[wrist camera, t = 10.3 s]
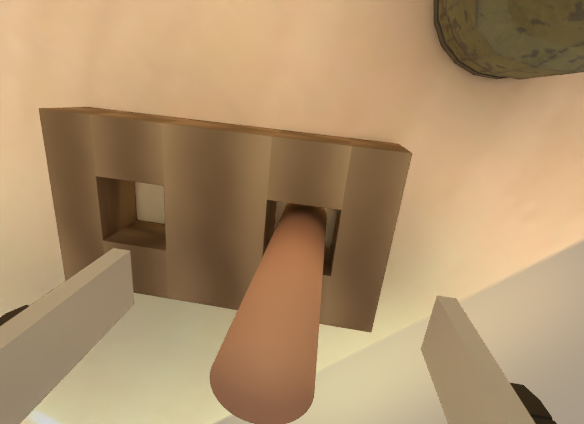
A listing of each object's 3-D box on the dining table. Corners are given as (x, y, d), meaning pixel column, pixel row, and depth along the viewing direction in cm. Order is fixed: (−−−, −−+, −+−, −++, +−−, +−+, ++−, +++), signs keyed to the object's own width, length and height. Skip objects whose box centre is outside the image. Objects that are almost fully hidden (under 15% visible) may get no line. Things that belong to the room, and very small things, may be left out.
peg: (281, 233, 24) (208, 414, 10) (285, 193, 23) (211, 334, 9) (323, 239, 24) (307, 434, 10) (329, 199, 23) (321, 354, 9)
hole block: (102, 256, 27) (65, 281, 23) (86, 106, 23) (38, 108, 19) (365, 298, 25) (371, 332, 22) (398, 143, 21) (412, 153, 18)
